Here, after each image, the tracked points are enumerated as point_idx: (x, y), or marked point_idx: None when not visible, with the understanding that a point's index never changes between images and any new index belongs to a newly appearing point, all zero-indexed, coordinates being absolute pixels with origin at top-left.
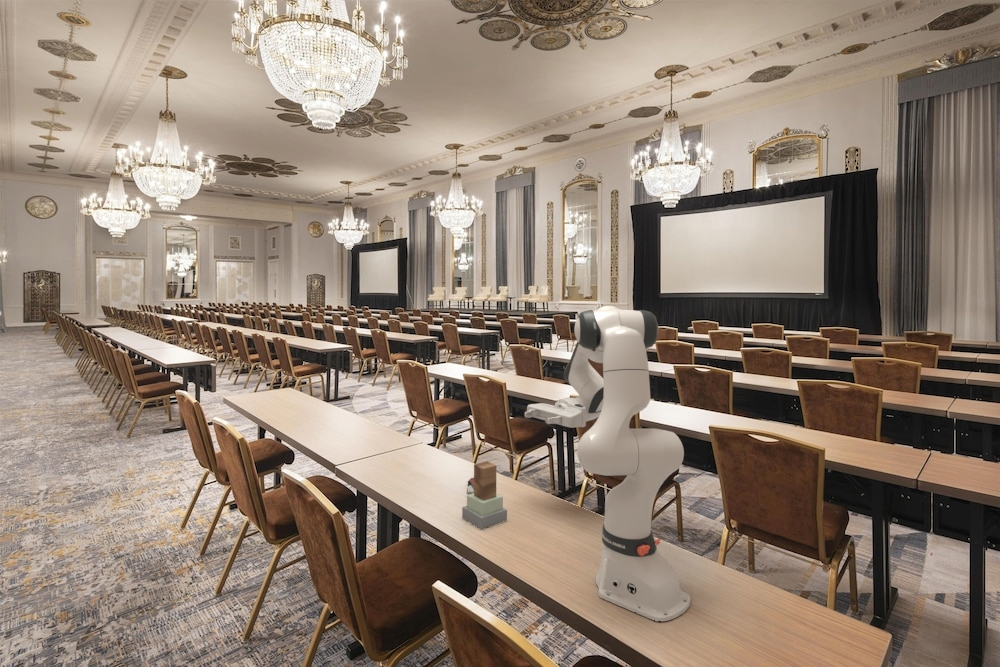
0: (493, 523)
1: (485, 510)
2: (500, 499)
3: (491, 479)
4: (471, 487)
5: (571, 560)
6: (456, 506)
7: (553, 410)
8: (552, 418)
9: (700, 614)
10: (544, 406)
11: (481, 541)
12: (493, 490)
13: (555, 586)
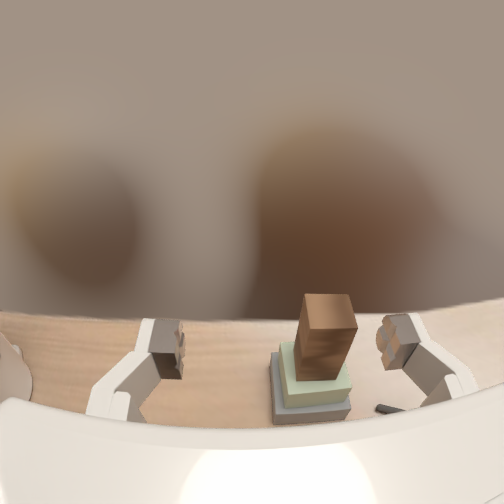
0: (271, 389)
1: (279, 358)
2: (286, 390)
3: (302, 339)
4: None
5: (78, 399)
6: (386, 376)
7: (266, 482)
8: (135, 351)
9: None
10: (482, 490)
11: (231, 343)
12: (298, 363)
13: (68, 334)
